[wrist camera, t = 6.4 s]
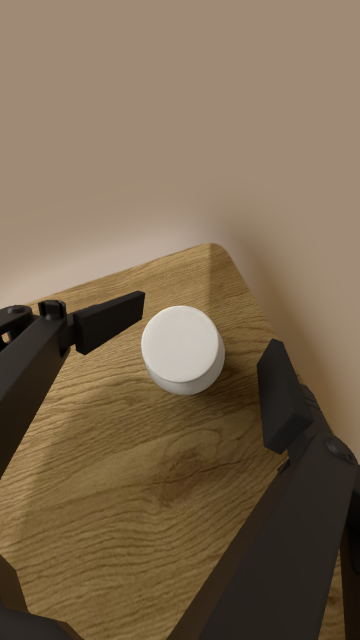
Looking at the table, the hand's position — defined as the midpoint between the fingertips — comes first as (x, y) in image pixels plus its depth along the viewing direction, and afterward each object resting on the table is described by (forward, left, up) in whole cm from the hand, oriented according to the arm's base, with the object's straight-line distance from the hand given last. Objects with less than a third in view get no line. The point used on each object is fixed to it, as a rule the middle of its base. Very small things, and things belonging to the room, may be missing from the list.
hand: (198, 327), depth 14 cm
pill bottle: (-1, +3, -4) cm, 5 cm away
